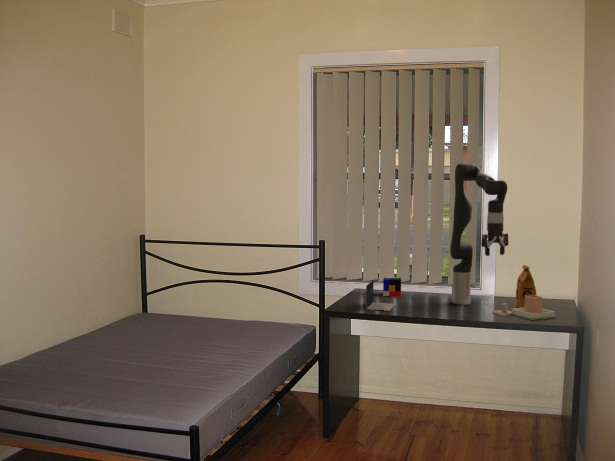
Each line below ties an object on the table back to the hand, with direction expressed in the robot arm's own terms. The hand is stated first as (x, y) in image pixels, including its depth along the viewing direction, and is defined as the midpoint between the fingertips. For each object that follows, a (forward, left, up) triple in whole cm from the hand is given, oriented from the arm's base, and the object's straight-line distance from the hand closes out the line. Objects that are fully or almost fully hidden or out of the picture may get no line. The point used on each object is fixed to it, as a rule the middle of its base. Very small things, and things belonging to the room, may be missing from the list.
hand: (494, 255), depth 308 cm
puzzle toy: (-70, -16, -30) cm, 78 cm away
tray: (+7, +18, -30) cm, 36 cm away
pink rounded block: (+7, +18, -29) cm, 35 cm away
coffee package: (-9, +28, -30) cm, 42 cm away
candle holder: (-3, +9, -30) cm, 32 cm away
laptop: (-42, -39, -31) cm, 65 cm away
